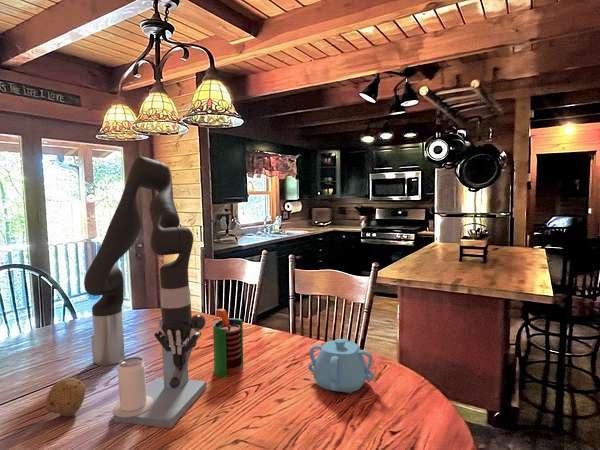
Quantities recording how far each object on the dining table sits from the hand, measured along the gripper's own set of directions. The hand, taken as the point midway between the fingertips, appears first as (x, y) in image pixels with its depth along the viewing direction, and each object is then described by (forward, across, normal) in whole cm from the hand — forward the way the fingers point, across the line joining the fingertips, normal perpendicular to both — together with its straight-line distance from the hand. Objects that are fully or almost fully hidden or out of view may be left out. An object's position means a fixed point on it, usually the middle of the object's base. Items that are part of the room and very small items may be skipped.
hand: (179, 366), depth 103 cm
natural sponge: (+12, +28, +8) cm, 32 cm away
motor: (+12, -4, -24) cm, 27 cm away
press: (+12, +7, -1) cm, 14 cm away
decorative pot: (+13, -41, -20) cm, 47 cm away
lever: (-1, 0, -6) cm, 6 cm away
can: (+10, +12, +4) cm, 16 cm away
